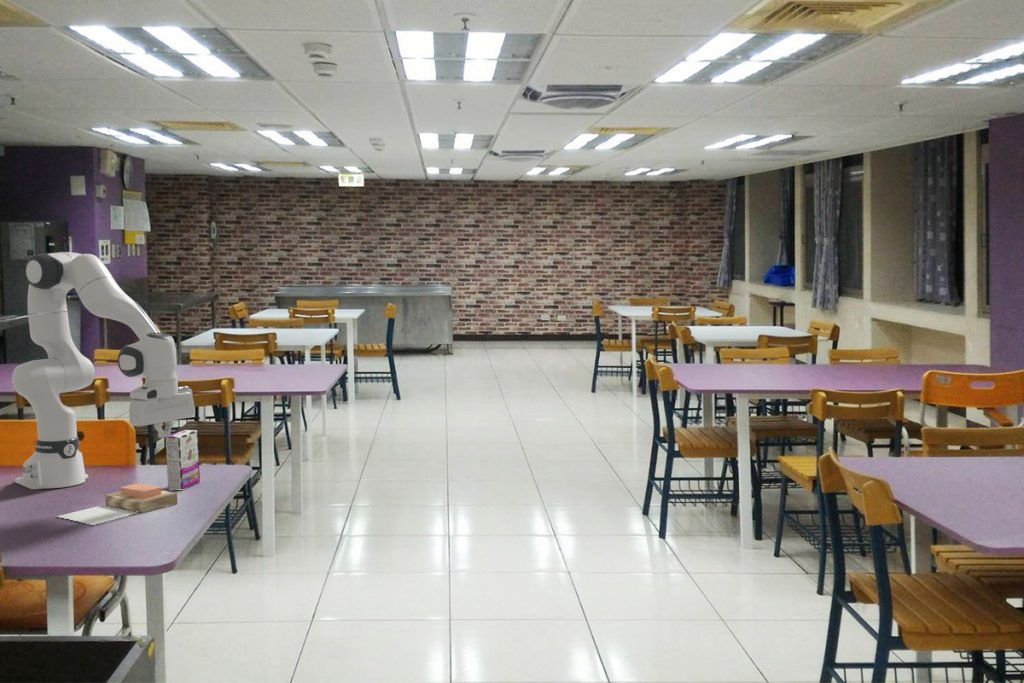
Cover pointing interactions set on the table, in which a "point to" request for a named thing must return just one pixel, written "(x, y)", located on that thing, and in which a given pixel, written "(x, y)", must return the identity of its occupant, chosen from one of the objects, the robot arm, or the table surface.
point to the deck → (140, 501)
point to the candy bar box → (182, 459)
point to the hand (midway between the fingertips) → (164, 437)
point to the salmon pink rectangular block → (141, 490)
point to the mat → (97, 515)
